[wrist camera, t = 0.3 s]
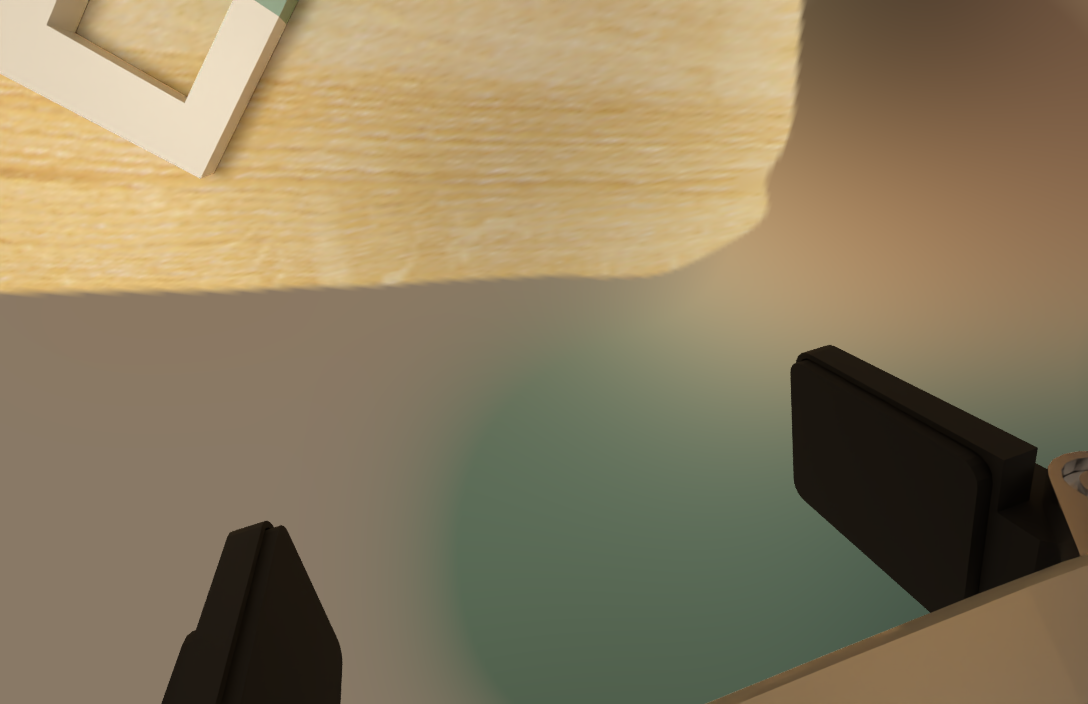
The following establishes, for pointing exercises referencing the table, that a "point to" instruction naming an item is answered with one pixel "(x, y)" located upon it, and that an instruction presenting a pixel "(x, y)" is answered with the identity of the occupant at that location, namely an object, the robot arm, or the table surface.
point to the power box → (143, 77)
